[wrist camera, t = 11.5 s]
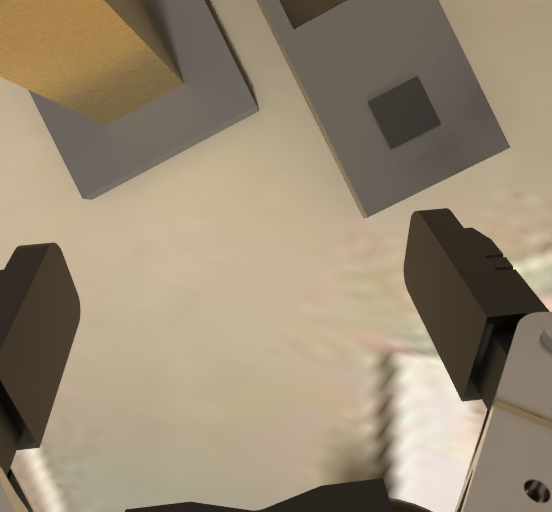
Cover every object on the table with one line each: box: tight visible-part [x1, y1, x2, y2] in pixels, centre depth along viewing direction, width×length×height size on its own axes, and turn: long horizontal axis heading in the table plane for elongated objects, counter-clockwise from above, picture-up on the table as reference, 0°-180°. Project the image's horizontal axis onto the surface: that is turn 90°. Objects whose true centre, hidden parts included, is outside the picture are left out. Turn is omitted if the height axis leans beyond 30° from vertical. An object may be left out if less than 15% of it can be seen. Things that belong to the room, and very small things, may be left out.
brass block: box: [0, 0, 184, 126], centre depth 19 cm, size 4×4×11 cm
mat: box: [29, 0, 259, 200], centre depth 25 cm, size 10×10×1 cm
